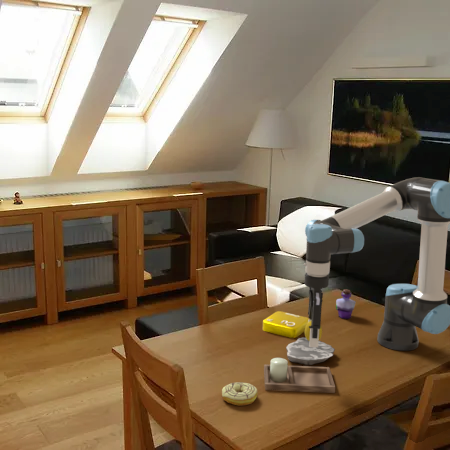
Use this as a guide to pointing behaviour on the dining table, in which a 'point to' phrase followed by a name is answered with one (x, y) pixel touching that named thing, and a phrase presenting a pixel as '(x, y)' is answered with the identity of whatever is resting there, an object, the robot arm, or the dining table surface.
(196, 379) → the dining table surface
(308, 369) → the organizer
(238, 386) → the decorated donut
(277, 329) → the element tile
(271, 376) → the white capsule pill
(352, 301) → the potion bottle
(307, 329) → the lemon
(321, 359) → the brain slice
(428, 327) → the robot arm
